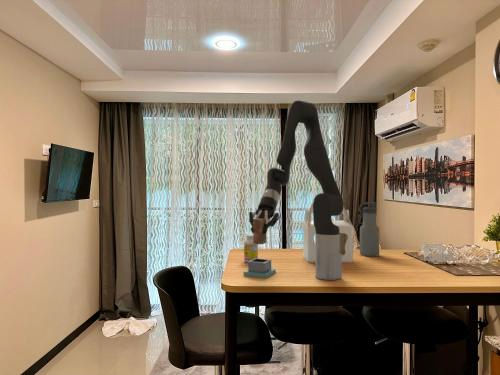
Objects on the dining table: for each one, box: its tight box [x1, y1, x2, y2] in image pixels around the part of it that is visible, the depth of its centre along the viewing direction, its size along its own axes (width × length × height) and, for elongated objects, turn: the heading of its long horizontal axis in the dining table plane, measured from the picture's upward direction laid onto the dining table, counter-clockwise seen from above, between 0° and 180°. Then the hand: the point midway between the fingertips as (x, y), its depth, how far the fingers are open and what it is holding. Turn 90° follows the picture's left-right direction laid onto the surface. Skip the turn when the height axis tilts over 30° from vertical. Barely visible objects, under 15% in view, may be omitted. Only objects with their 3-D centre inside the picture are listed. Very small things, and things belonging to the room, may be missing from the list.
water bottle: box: [357, 201, 380, 257], centre depth 178 cm, size 10×10×28 cm
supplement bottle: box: [243, 233, 259, 263], centre depth 161 cm, size 7×7×13 cm
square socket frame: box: [247, 257, 272, 273], centre depth 137 cm, size 7×7×4 cm
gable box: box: [302, 202, 354, 263], centre depth 166 cm, size 22×13×28 cm, turn 91°
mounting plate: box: [243, 268, 276, 279], centre depth 137 cm, size 10×10×2 cm
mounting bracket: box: [422, 243, 458, 263], centre depth 158 cm, size 12×6×11 cm, turn 84°
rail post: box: [252, 218, 267, 245], centre depth 137 cm, size 4×4×10 cm
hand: (258, 232), depth 135 cm, fingers closed on rail post, 4 cm apart
